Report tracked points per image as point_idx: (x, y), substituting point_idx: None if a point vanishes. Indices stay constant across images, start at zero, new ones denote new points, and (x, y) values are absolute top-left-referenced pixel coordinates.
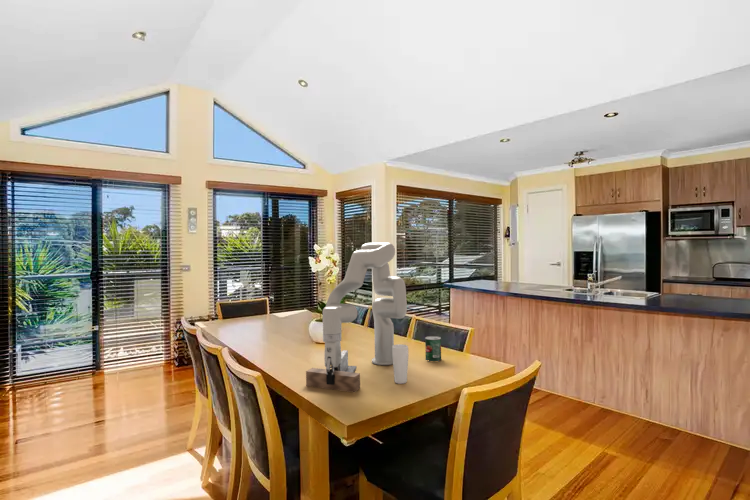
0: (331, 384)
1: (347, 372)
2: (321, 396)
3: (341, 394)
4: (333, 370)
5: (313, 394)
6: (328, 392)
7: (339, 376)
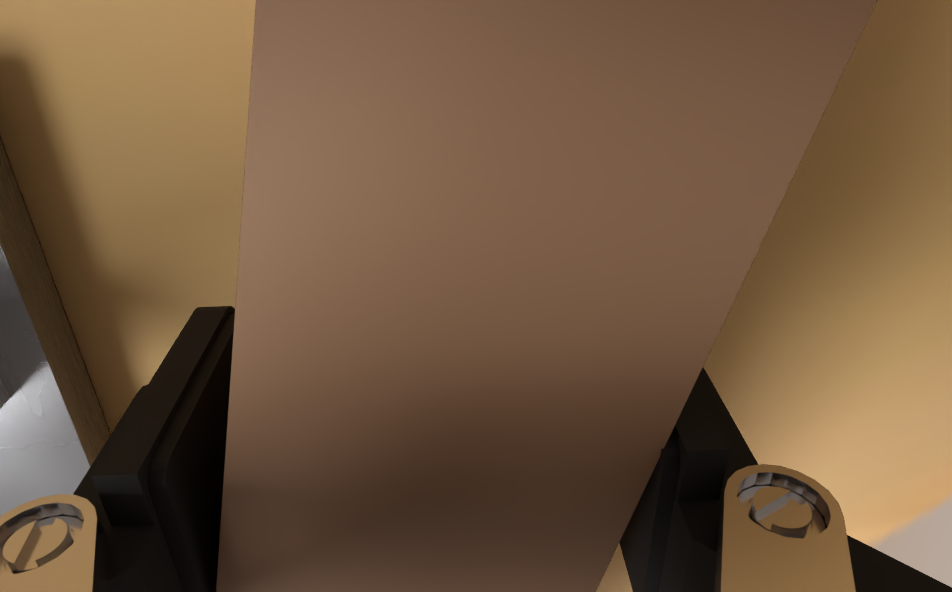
0: None
1: (336, 35)
2: (906, 356)
3: (873, 10)
4: (804, 590)
5: None
6: None
7: (729, 256)
